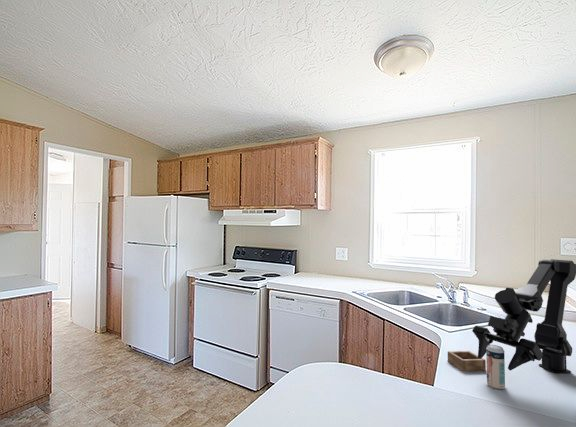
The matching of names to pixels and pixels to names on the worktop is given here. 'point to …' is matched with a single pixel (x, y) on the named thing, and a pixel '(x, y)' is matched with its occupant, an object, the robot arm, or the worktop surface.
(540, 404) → the worktop surface
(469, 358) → the socket block
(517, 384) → the worktop surface
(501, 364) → the beer can
